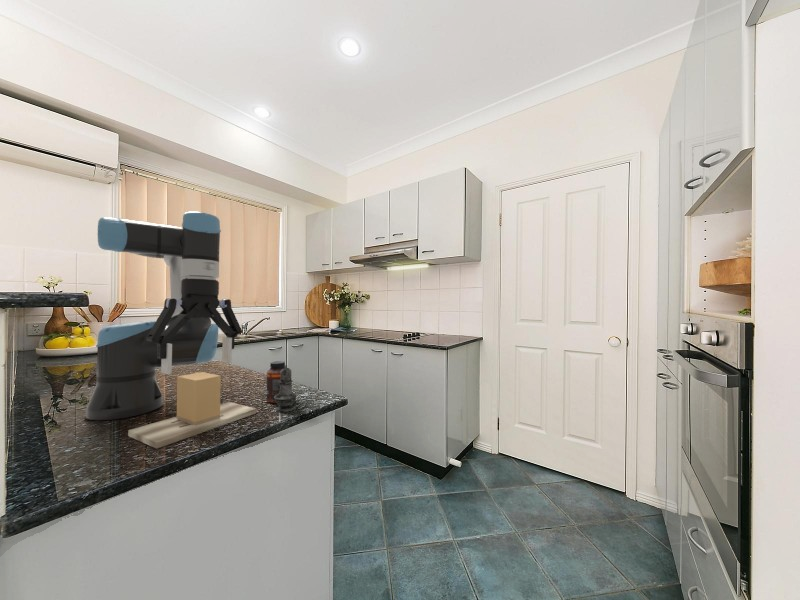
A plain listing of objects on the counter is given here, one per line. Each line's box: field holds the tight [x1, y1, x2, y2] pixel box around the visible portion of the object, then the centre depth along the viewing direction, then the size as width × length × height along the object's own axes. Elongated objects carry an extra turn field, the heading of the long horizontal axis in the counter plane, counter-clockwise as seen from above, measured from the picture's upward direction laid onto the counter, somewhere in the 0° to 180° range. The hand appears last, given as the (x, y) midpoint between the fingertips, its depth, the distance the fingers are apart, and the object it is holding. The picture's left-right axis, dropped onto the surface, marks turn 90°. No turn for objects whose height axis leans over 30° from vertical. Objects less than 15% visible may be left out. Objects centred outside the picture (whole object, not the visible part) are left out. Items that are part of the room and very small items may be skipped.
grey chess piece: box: [274, 364, 298, 413], centre depth 82 cm, size 6×6×12 cm
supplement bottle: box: [265, 360, 286, 404], centre depth 89 cm, size 6×6×11 cm
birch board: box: [127, 401, 257, 449], centre depth 72 cm, size 12×22×1 cm, turn 152°
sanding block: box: [176, 371, 222, 426], centre depth 72 cm, size 8×6×10 cm
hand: (199, 367), depth 72 cm, fingers open, 13 cm apart
